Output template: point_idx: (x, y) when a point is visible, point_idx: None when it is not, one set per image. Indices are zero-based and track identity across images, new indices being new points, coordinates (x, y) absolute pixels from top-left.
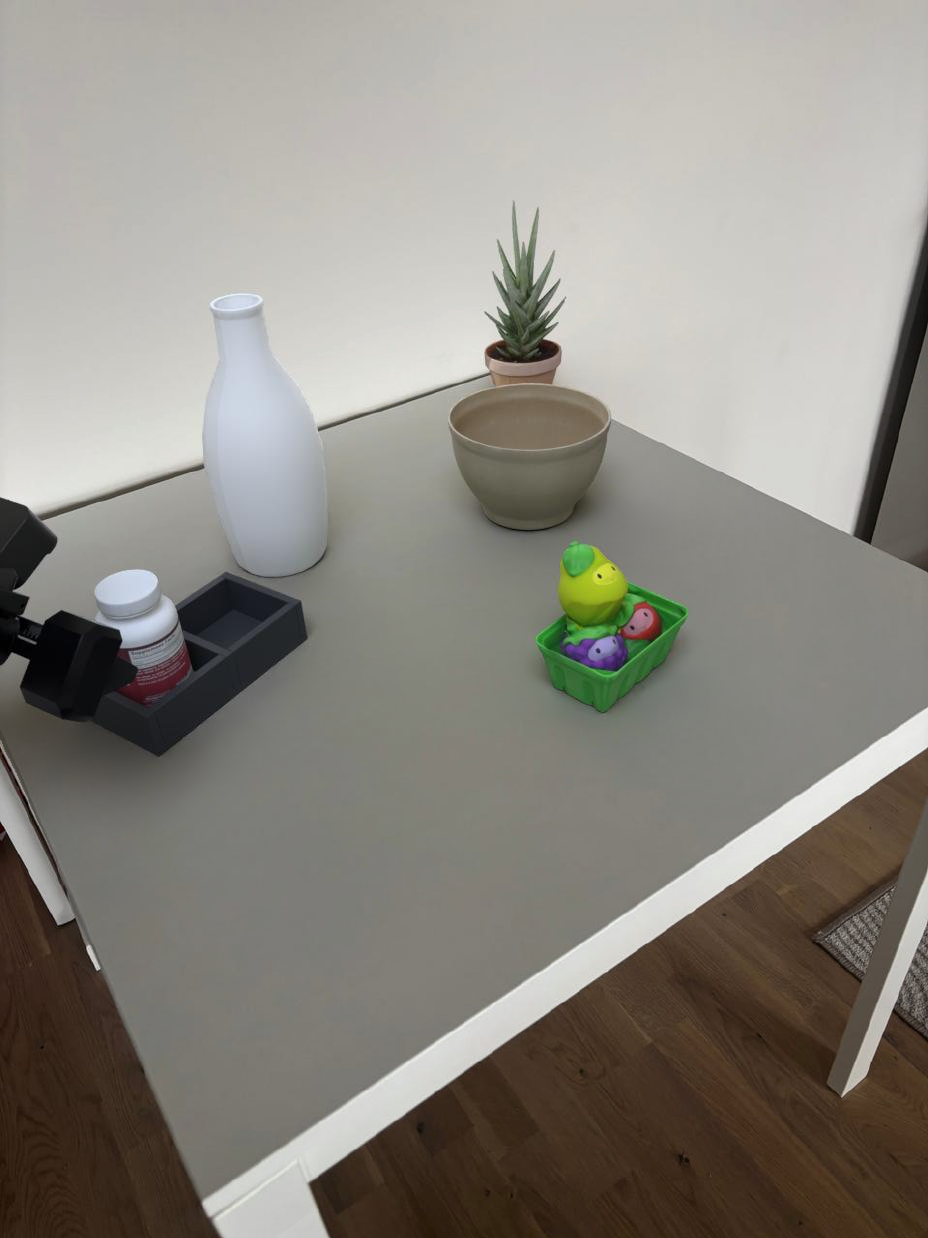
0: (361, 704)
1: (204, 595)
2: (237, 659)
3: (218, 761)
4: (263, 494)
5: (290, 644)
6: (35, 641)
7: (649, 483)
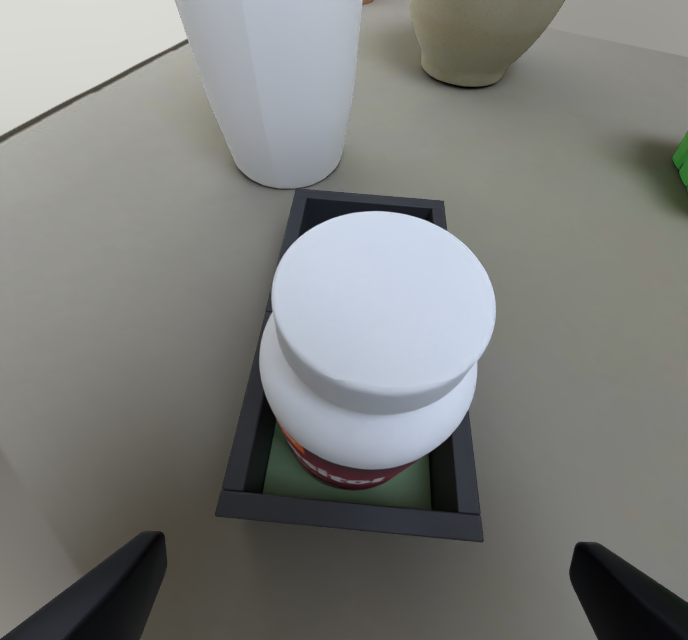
0: (580, 312)
1: (300, 232)
2: None
3: (534, 493)
4: (321, 40)
5: None
6: (139, 618)
7: None
